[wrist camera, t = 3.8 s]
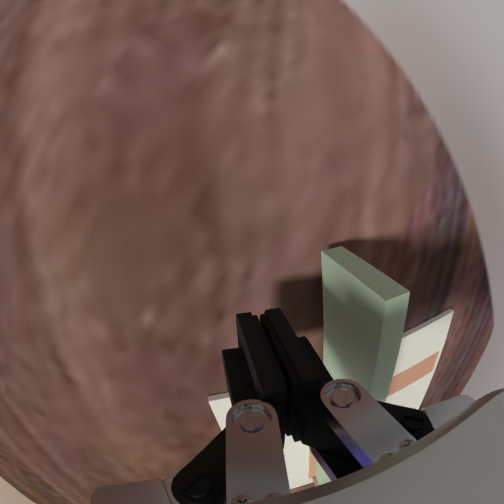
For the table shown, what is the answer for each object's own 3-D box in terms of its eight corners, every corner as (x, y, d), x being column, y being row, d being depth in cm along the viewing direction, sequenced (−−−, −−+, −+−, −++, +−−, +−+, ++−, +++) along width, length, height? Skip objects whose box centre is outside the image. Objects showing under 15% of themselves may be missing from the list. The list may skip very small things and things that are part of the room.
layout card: (207, 396, 14) (208, 402, 13) (450, 308, 16) (454, 311, 16) (256, 494, 21) (257, 497, 20) (399, 439, 23) (401, 442, 23)
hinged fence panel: (337, 419, 16) (363, 465, 12) (316, 427, 16) (340, 475, 12) (347, 244, 11) (416, 288, 7) (314, 252, 11) (377, 304, 7)
